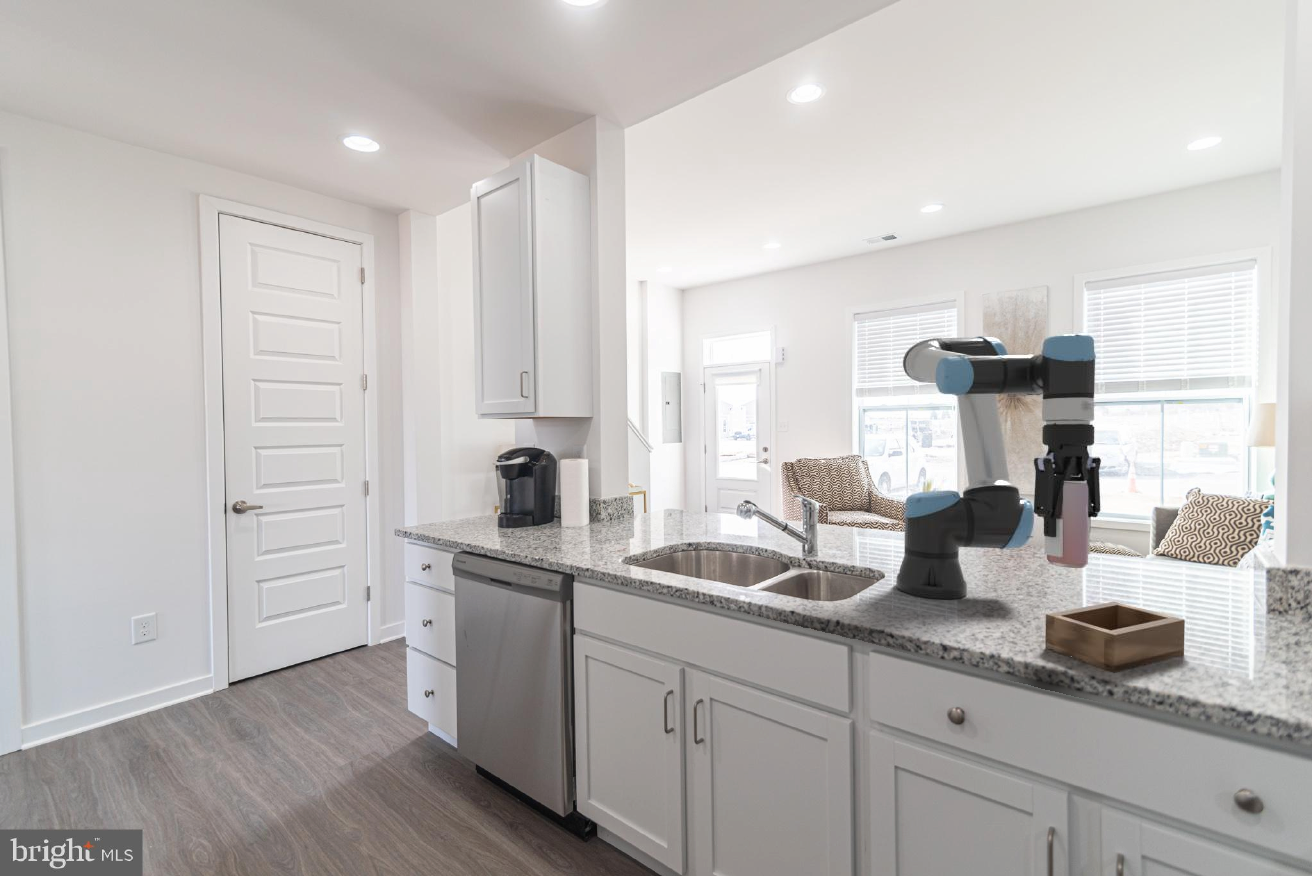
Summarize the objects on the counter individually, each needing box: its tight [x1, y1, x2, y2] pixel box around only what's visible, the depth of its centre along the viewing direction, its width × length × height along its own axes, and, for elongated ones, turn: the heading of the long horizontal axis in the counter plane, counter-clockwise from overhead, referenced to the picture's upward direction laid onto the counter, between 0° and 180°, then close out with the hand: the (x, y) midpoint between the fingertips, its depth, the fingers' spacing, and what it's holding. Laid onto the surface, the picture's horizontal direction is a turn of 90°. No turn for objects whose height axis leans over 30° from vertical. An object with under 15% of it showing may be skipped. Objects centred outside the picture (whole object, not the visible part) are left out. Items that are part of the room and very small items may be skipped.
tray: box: [1044, 601, 1186, 673], centre depth 102 cm, size 11×19×6 cm, turn 112°
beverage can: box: [1046, 480, 1089, 569], centre depth 104 cm, size 6×6×15 cm
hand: (1067, 554), depth 104 cm, fingers closed on beverage can, 6 cm apart
